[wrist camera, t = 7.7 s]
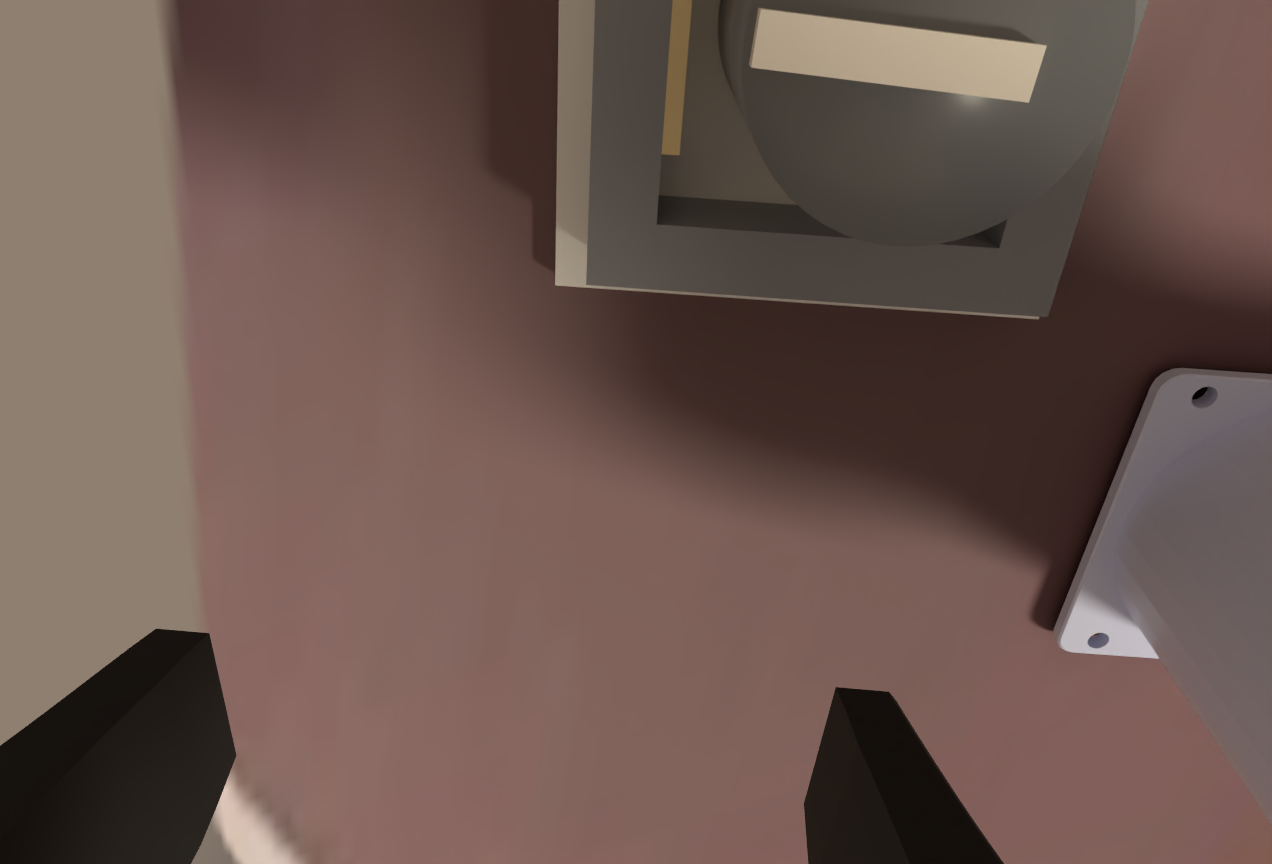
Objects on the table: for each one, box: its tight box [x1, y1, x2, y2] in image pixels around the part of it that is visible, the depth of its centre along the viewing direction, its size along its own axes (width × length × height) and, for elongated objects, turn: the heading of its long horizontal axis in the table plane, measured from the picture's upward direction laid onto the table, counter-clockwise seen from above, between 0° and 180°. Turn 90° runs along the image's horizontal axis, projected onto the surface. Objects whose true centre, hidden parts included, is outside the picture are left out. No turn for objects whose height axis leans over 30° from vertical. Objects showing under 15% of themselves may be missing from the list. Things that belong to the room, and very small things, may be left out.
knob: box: [718, 0, 1136, 247], centre depth 12 cm, size 4×4×6 cm
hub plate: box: [555, 0, 1149, 319], centre depth 15 cm, size 10×10×3 cm
